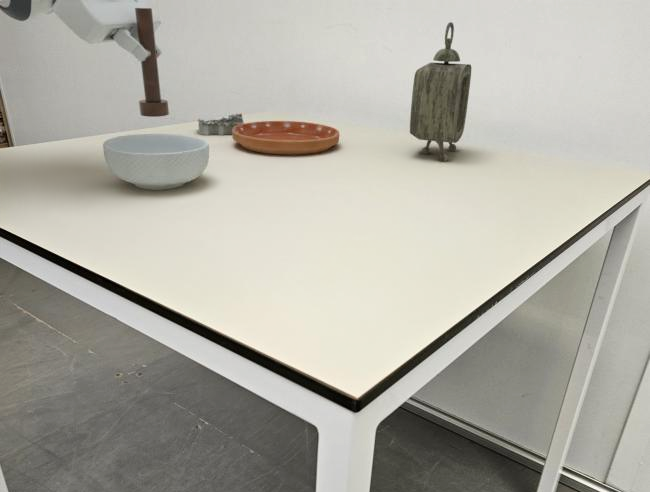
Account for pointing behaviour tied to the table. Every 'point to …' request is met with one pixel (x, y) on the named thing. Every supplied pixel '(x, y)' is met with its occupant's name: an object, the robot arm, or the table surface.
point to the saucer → (285, 137)
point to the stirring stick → (150, 67)
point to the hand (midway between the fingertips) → (152, 57)
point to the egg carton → (220, 125)
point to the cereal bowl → (157, 159)
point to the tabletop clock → (440, 99)
